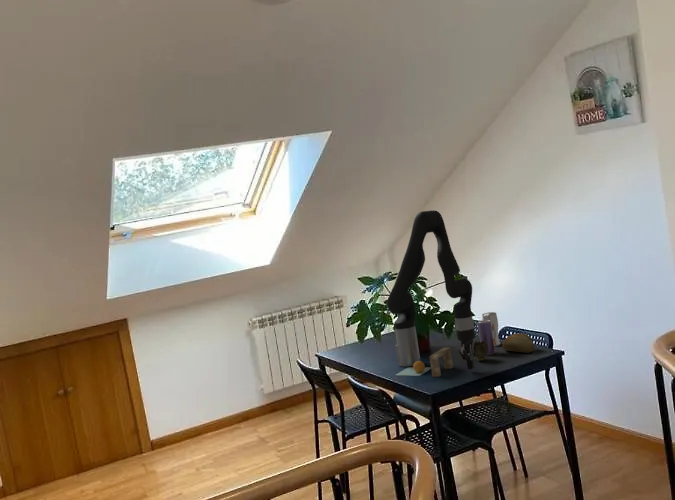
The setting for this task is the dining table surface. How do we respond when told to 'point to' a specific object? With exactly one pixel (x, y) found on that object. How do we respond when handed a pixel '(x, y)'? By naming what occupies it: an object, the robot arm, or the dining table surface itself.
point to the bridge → (435, 361)
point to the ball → (419, 366)
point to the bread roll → (518, 343)
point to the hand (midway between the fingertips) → (470, 368)
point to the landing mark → (412, 372)
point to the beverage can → (486, 335)
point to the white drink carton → (493, 325)
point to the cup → (481, 350)
